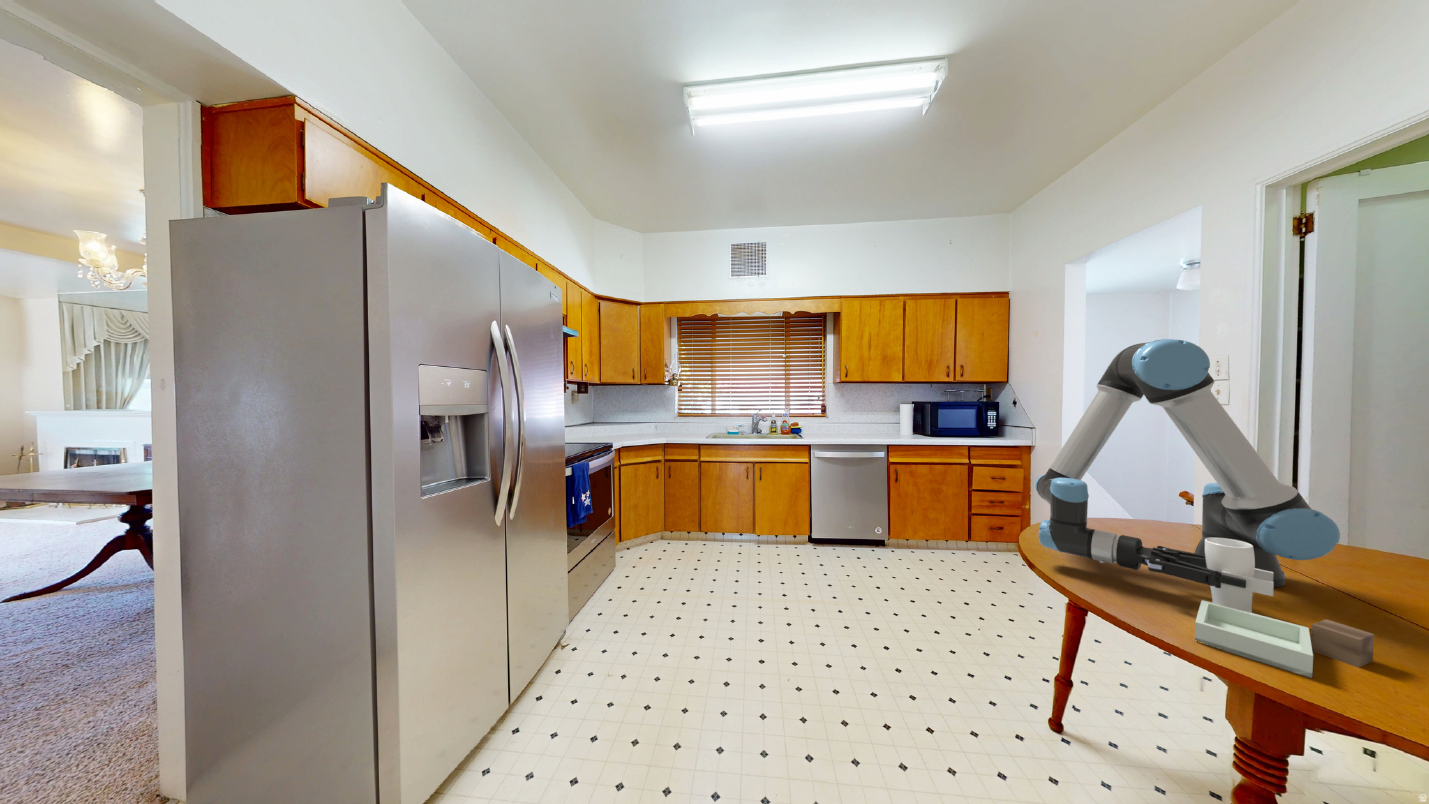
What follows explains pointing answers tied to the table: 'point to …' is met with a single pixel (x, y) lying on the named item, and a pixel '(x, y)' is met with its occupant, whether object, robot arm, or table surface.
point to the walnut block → (1342, 643)
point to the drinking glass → (1230, 570)
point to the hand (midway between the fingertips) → (1272, 583)
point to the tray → (1255, 637)
